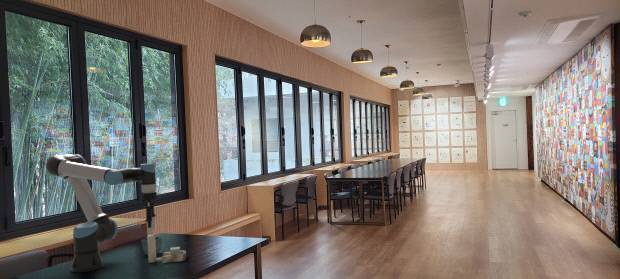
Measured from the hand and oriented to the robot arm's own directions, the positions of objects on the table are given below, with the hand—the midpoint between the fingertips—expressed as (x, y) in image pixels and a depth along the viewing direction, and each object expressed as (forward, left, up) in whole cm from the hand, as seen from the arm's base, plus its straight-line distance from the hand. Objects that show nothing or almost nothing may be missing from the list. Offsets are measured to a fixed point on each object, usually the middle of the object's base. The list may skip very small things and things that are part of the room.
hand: (151, 231), depth 246 cm
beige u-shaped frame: (+11, 0, -17) cm, 20 cm away
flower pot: (-2, +19, -17) cm, 26 cm away
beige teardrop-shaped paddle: (+6, 0, -16) cm, 17 cm away
